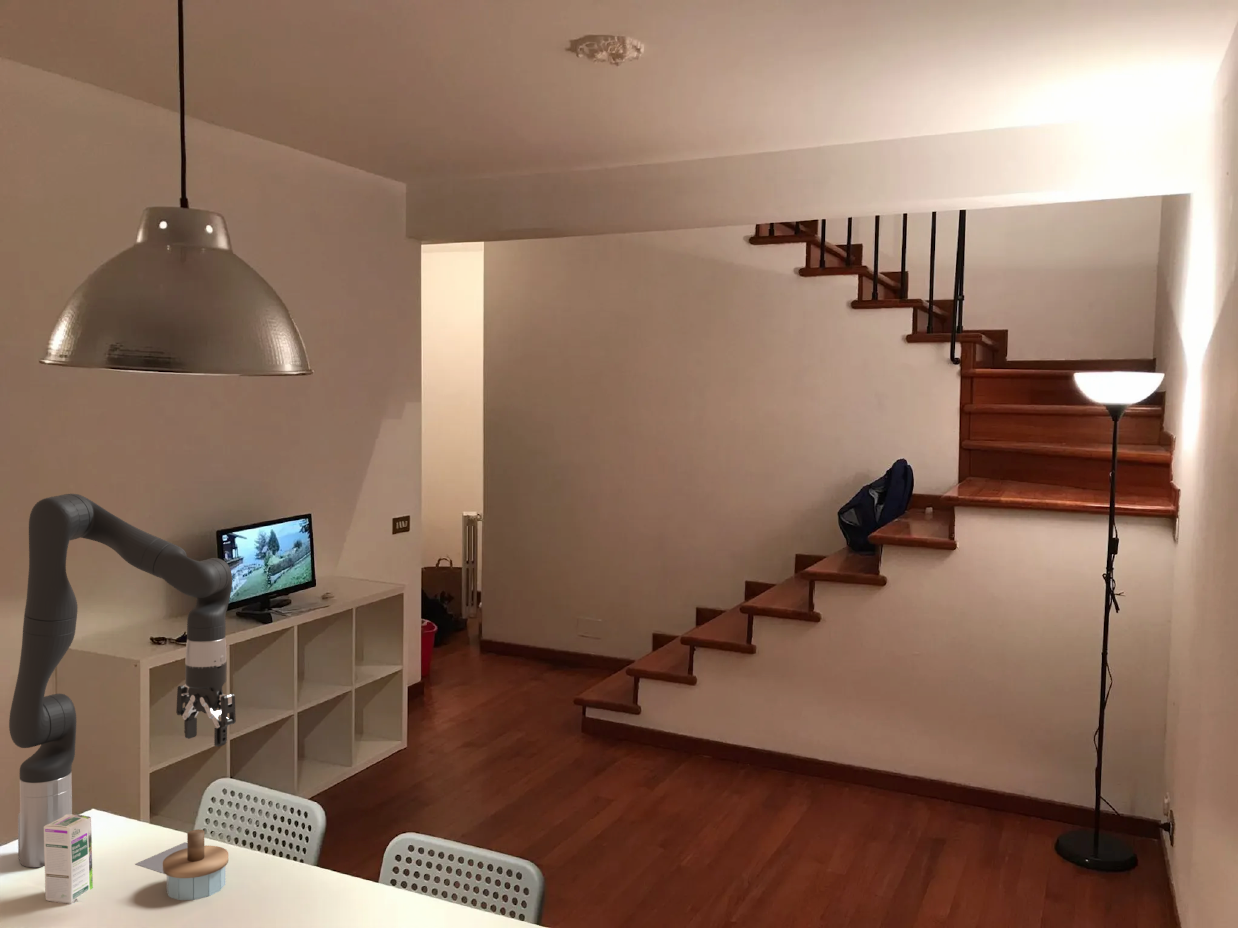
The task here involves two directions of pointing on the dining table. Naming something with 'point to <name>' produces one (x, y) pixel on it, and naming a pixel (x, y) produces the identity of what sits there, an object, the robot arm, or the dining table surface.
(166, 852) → the mat
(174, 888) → the bowl
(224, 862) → the lid
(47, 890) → the syrup box
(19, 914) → the dining table surface
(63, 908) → the dining table surface
